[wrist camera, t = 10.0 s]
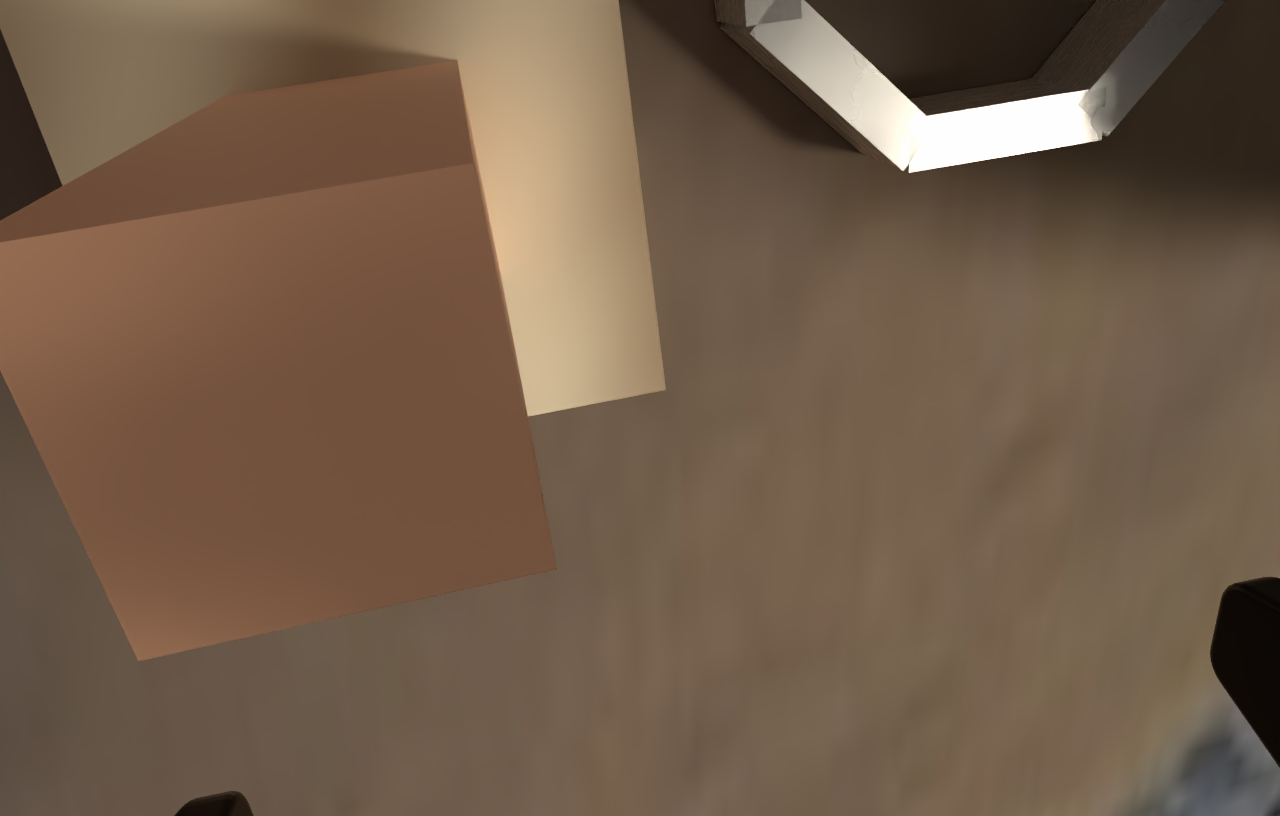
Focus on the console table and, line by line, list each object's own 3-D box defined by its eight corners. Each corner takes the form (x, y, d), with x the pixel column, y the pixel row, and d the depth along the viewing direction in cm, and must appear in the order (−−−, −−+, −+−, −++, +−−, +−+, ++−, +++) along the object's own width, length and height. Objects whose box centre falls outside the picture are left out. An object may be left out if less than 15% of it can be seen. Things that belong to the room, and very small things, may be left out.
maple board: (591, -146, 16) (600, -154, 15) (656, 372, 21) (665, 390, 20) (-13, -72, 15) (-41, -76, 14) (192, 460, 20) (180, 483, 19)
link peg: (457, 60, 16) (472, 162, 7) (501, 276, 18) (556, 568, 9) (224, 95, 16) (-56, 250, 7) (292, 314, 18) (138, 662, 9)
